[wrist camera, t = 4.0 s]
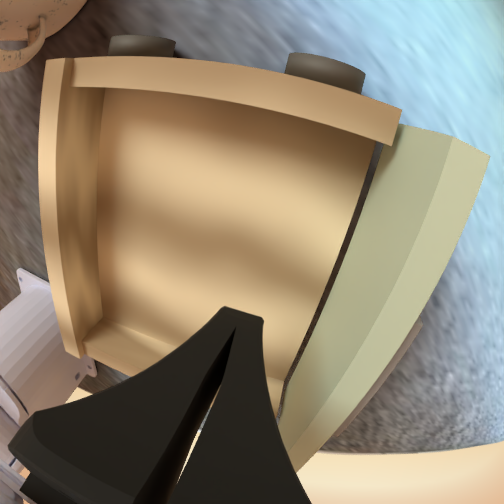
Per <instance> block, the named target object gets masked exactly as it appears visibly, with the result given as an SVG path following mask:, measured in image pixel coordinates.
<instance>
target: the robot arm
mask: <svg viewBox="0 0 504 504" xmlns="http://www.w3.org/2000/svg"><path fill="white" fill-rule="evenodd" d="M17 276H18V281H19V285H20V289H21V294H20V295H19V296H17V297H16V298H15V299H14V300H13V301H12V302H10V303H9V304H8V305H7V306H6V307H4V308H3V309H2V310H1V311H0V504H23V499H24V500H26V501H27V502H28V503H30V504H312V503H311V501H310V500H309V498H308V496H307V494H306V493H305V490H304V489H303V487H302V485H301V483H300V481H299V478H298V476H297V474H296V472H295V470H294V468H293V465H292V463H291V461H290V458H289V456H288V453H287V451H286V448H285V446H284V443H283V441H282V438H281V435H280V432H279V429H278V426H277V422H276V419H275V415H274V412H273V408H272V404H271V399H270V395H269V390H268V385H267V379H266V373H265V364H264V356H263V325H264V320H263V318H262V317H260V316H256V315H253V314H250V313H246V312H243V311H240V310H237V309H233V308H230V307H227V306H224V307H221V308H220V309H219V311H218V312H217V313H216V314H215V315H214V316H213V317H212V318H211V319H210V320H209V321H208V322H207V323H206V324H205V325H204V326H203V327H202V328H201V329H199V330H198V331H197V332H196V333H195V334H194V335H192V336H191V337H190V338H189V339H188V340H186V341H185V342H184V343H183V344H181V345H180V346H179V347H177V348H176V349H175V350H173V351H172V352H171V353H169V354H168V355H166V356H165V357H164V358H162V359H161V360H159V361H158V362H156V363H155V364H153V365H152V366H150V367H148V368H147V369H145V370H143V371H141V372H140V373H138V374H136V375H134V376H132V377H131V378H129V379H127V380H125V381H123V382H121V383H119V384H117V385H115V386H112V387H110V388H108V389H106V390H103V391H101V392H98V393H95V394H93V395H90V396H88V397H85V398H82V399H80V400H77V401H73V402H70V403H67V404H65V402H66V401H67V400H68V398H69V397H70V396H71V394H72V393H73V392H74V390H75V389H76V388H77V386H78V385H79V384H80V382H81V381H82V380H83V378H84V377H85V376H86V374H88V375H90V376H92V377H96V375H97V371H96V366H95V362H94V359H93V358H91V357H89V356H87V355H85V354H84V355H83V356H82V358H81V359H79V358H77V357H75V356H74V355H72V354H70V353H68V352H66V350H65V347H64V343H63V339H62V336H61V332H60V328H59V324H58V320H57V316H56V311H55V307H54V302H53V298H52V293H51V287H50V283H48V282H47V281H45V280H43V279H41V278H39V277H37V276H35V275H33V274H31V273H29V272H28V271H26V270H24V269H22V268H19V269H18V270H17ZM220 385H221V386H220ZM219 387H220V388H219ZM218 389H219V391H218ZM217 391H218V393H217ZM216 394H217V395H216ZM215 396H216V398H215ZM214 398H215V400H214ZM213 400H214V403H213V405H212V407H211V410H210V412H209V414H208V417H207V419H206V421H205V424H204V426H203V428H202V431H201V433H200V436H199V437H198V440H197V442H196V444H195V447H194V449H193V451H192V453H191V455H190V458H189V460H188V462H187V464H186V466H185V468H184V470H183V472H182V474H181V471H182V469H183V466H184V463H185V461H186V458H187V456H188V453H189V450H190V448H191V445H192V443H193V440H194V438H195V436H196V434H197V431H198V429H199V427H200V425H201V423H202V421H203V419H204V418H205V416H206V414H207V412H208V410H209V408H210V406H211V404H212V402H213ZM24 467H26V468H27V469H28V470H29V471H30V474H29V476H28V477H27V479H25V478H23V477H22V476H21V475H20V474H19V473H20V472H21V471H22V470H23V469H24ZM180 474H181V476H180ZM179 477H180V479H179ZM178 479H179V481H178ZM177 482H178V483H177ZM176 484H177V485H176ZM22 498H23V499H22Z"/></svg>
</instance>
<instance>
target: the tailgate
mask: <svg viewBox="0 0 504 504" xmlns="http://www.w3.org/2000/svg"><path fill="white" fill-rule="evenodd" d="M489 159H490V156H489V155H487V154H485V153H484V152H482V151H480V150H478V149H476V148H474V147H473V146H471V145H469V144H467V143H465V142H463V141H461V140H459V139H457V138H455V137H453V136H449V135H445V134H441V133H438V132H434V131H430V130H425V129H421V128H417V127H412V126H408V125H403V124H398V126H397V130H396V133H395V137H394V140H393V144H392V146H390V145H387V144H384V145H383V148H382V151H381V155H380V158H379V161H378V164H377V167H376V171H375V174H374V177H373V180H372V183H371V186H370V189H369V192H368V195H367V198H366V201H365V203H364V206H363V209H362V212H361V215H360V218H359V220H358V223H357V226H356V229H355V231H354V234H353V237H352V239H351V242H350V245H349V247H348V250H347V252H346V255H345V257H344V260H343V263H342V265H341V268H340V270H339V273H338V275H337V277H336V280H335V282H334V285H333V287H332V290H331V292H330V294H329V297H328V299H327V301H326V304H325V306H324V308H323V311H322V313H321V315H320V317H319V320H318V322H317V324H316V326H315V329H314V331H313V333H312V335H311V337H310V340H309V342H308V344H307V346H306V348H305V350H304V352H303V355H302V357H301V359H300V361H299V363H298V365H297V367H296V369H295V371H294V373H293V375H292V377H291V379H290V381H289V383H288V385H287V387H286V389H285V393H284V398H283V403H282V409H281V414H280V419H279V424H278V429H279V432H280V435H281V438H282V441H283V443H284V446H285V448H286V451H287V453H288V456H289V458H290V461H291V463H292V465H293V468H294V470H295V472H297V471H298V470H299V469H300V468H301V467H302V466H303V465H304V464H305V463H306V462H307V461H308V460H309V459H310V458H311V457H312V456H313V455H314V454H315V453H316V452H317V451H318V450H319V449H320V448H321V447H322V446H323V444H324V443H325V442H326V441H327V440H328V439H329V438H330V437H331V436H336V437H339V435H340V434H341V433H342V432H343V431H344V430H345V429H346V428H347V427H348V425H349V424H350V423H351V422H352V421H353V420H354V419H355V417H356V416H357V415H358V414H359V413H360V412H361V410H362V409H363V408H364V407H365V406H366V404H367V403H368V402H369V401H370V399H371V398H372V397H373V396H374V394H375V393H376V392H377V391H378V389H379V388H380V387H381V385H382V384H383V383H384V381H385V380H386V379H387V377H388V376H389V375H390V373H391V372H392V371H393V369H394V368H395V367H396V365H397V364H398V362H399V361H400V360H401V358H402V357H403V355H404V354H405V352H406V351H407V349H408V348H409V346H410V345H411V343H412V342H413V340H414V339H415V337H416V336H417V334H418V333H419V331H420V330H421V328H422V326H423V323H422V321H421V318H420V313H421V311H422V310H423V308H424V306H425V305H426V303H427V301H428V299H429V298H430V296H431V294H432V292H433V290H434V288H435V287H436V285H437V283H438V281H439V279H440V277H441V275H442V273H443V271H444V269H445V267H446V265H447V263H448V261H449V259H450V257H451V255H452V253H453V251H454V249H455V247H456V244H457V242H458V240H459V238H460V236H461V233H462V231H463V229H464V226H465V224H466V222H467V219H468V217H469V215H470V212H471V210H472V207H473V205H474V202H475V199H476V197H477V194H478V191H479V189H480V186H481V183H482V180H483V177H484V174H485V171H486V168H487V165H488V162H489Z"/></svg>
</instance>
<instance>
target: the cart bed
mask: <svg viewBox="0 0 504 504" xmlns="http://www.w3.org/2000/svg"><path fill="white" fill-rule="evenodd" d="M175 44H176V42H175V41H173V40H170V39H166V38H161V37H155V36H146V35H118V36H113V37H111V41H110V45H109V50H108V55H107V57H84V58H59V59H50V60H46V66H45V73H44V80H43V88H42V98H41V108H40V123H39V148H38V173H39V199H40V213H41V225H42V234H43V243H44V251H45V258H46V264H47V271H48V276H49V282H50V287H51V293H52V298H53V302H54V307H55V311H56V316H57V320H58V324H59V328H60V332H61V336H62V339H63V343H64V347H65V350H66V352H68V353H70V354H72V355H74V356H75V357H77V358H79V359H81V358H82V356H83V355H84V354H85V355H87V356H89V357H91V358H93V359H95V360H97V361H99V362H101V363H103V364H105V365H107V366H109V367H111V368H113V369H116V370H118V371H120V372H122V373H124V374H126V375H129V376H131V377H132V376H134V375H136V374H138V373H140V372H141V371H143V370H145V369H147V368H148V367H150V366H152V365H153V364H155V363H156V362H158V361H159V360H161V359H162V358H164V357H165V356H166V355H168V354H169V353H171V352H172V351H173V350H175V349H176V348H177V347H179V346H180V345H181V344H183V343H184V342H185V341H186V340H188V339H189V338H190V337H191V336H192V335H194V334H195V333H196V332H197V331H198V330H199V329H201V328H202V327H203V326H204V325H205V324H206V323H207V322H208V321H209V320H210V319H211V318H212V317H213V316H214V315H215V314H216V313H217V312H218V311H219V309H220V308H221V307H224V306H227V307H230V308H233V309H237V310H240V311H243V312H246V313H250V314H253V315H256V316H260V317H262V318H263V320H264V325H263V356H264V364H265V373H266V379H267V385H268V390H269V395H270V399H271V404H272V408H273V412H274V415H275V418H276V416H277V414H278V409H279V404H280V399H281V394H282V389H283V384H284V380H285V378H286V376H287V374H288V372H289V369H290V367H291V365H292V363H293V361H294V359H295V357H296V354H297V352H298V350H299V348H300V346H301V343H302V341H303V339H304V337H305V334H306V332H307V330H308V328H309V325H310V323H311V321H312V318H313V316H314V314H315V311H316V309H317V307H318V304H319V302H320V299H321V297H322V294H323V292H324V290H325V287H326V285H327V282H328V280H329V277H330V275H331V272H332V270H333V267H334V264H335V262H336V259H337V257H338V254H339V251H340V249H341V246H342V243H343V241H344V238H345V235H346V232H347V230H348V227H349V224H350V221H351V218H352V216H353V213H354V210H355V207H356V204H357V201H358V198H359V195H360V192H361V189H362V186H363V183H364V180H365V177H366V174H367V171H368V168H369V164H370V161H371V158H372V155H373V151H374V148H375V145H376V141H379V142H381V143H384V144H387V145H390V146H392V144H393V140H394V137H395V133H396V130H397V126H398V123H399V119H400V116H401V112H402V110H401V109H399V108H396V107H394V106H391V105H388V104H386V103H383V102H380V101H377V100H375V99H372V98H369V97H366V96H363V95H361V91H362V87H363V83H364V79H365V73H364V72H362V71H361V70H359V69H357V68H355V67H353V66H351V65H348V64H346V63H343V62H340V61H337V60H334V59H330V58H327V57H323V56H318V55H313V54H307V53H290V54H289V57H288V61H287V65H286V69H285V73H284V74H283V73H278V72H274V71H269V70H263V69H258V68H253V67H247V66H241V65H234V64H227V63H220V62H212V61H203V60H194V59H182V58H173V53H174V49H175ZM220 386H221V385H220ZM219 388H220V387H219ZM218 391H219V389H218ZM218 391H217V393H218ZM216 395H217V394H216ZM215 398H216V396H215ZM215 398H214V400H215ZM214 400H213V402H212V404H211V406H210V408H211V407H212V405H213V403H214Z"/></svg>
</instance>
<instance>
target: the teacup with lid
mask: <svg viewBox="0 0 504 504" xmlns="http://www.w3.org/2000/svg"><path fill="white" fill-rule="evenodd" d="M86 1H87V0H0V41H5V40H23V41H28V44H27V47H25V48H23V49H19V50H3V49H0V72H6V71H11V70H14V69H17V68H19V67H21V66H23V65H24V64H26V63H27V62H28V61H30V60H31V59H32V58H33V57H34V56H35V55H36V54H37V53H38V52H39V50H40V49H41V47H42V46H43V44H44V41H45V38H47V37H49V36H51V35H53V34H54V33H56V32H57V31H59V30H60V29H61V28H62V27H64V26H65V25H66V24H67V23H68V22H69V21H70V20H71V19H72V18H73V17H74V16H75V15H76V14H77V13H78V12H79V11H80V9H81V8H82V7H83V5H84V4H85V3H86Z"/></svg>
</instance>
